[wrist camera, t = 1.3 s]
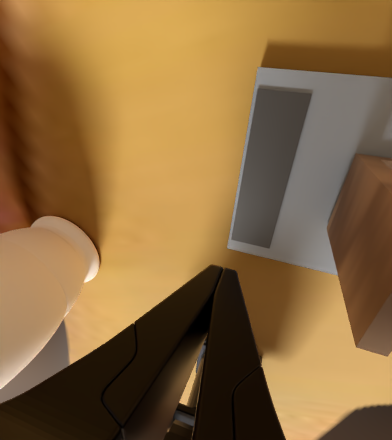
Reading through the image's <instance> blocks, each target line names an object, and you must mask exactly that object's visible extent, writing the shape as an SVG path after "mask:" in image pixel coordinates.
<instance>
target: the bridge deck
mask: <svg viewBox="0 0 392 440" xmlns="http://www.w3.org/2000/svg"><path fill="white" fill-rule="evenodd" d="M356 153H357V154H364V155H371V156H378V157H385V158H392V78H387V77H375V76H362V75H350V74H338V73H325V72H313V71H301V70H288V69H276V68H264V67H258V70H257V76H256V82H255V87H254V93H253V99H252V105H251V111H250V117H249V123H248V129H247V135H246V140H245V146H244V152H243V158H242V164H241V170H240V176H239V182H238V187H237V193H236V199H235V205H234V211H233V217H232V223H231V229H230V235H229V240H228V246H227V248H228V249H232V250H236V251H240V252H244V253H248V254H252V255H256V256H260V257H264V258H268V259H273V260H277V261H281V262H285V263H289V264H293V265H297V266H301V267H305V268H309V269H313V270H317V271H322V272H326V273H330V274H334V275H338V273H337V269H336V265H335V261H334V257H333V253H332V249H331V245H330V241H329V237H328V233H327V229H326V228H327V225H328V223H329V220H330V218H331V215H332V213H333V210H334V207H335V205H336V202H337V200H338V197H339V195H340V192H341V190H342V187H343V185H344V182H345V180H346V177H347V175H348V172H349V169H350V167H351V164H352V162H353V159H354V157H355V154H356Z"/></svg>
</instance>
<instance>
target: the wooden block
mask: <svg viewBox="0 0 392 440" xmlns="http://www.w3.org/2000/svg"><path fill="white" fill-rule="evenodd" d="M326 229H327V233H328V237H329V241H330V245H331V249H332V253H333V257H334V261H335V265H336V269H337V273H338V277H339V281H340V285H341V289H342V293H343V297H344V301H345V305H346V309H347V313H348V317H349V321H350V325H351V329H352V333H353V337H354V341H355V345H356V347H357V348H360V349H364V350H367V351H370V352H374V353H377V354H381V355H384V356H388V355H389V354H390V352H391V351H392V158H385V157H378V156H371V155H364V154H357V153H356V154H355V157H354V159H353V162H352V164H351V167H350V169H349V172H348V175H347V177H346V180H345V182H344V185H343V187H342V190H341V192H340V195H339V197H338V200H337V202H336V205H335V207H334V210H333V213H332V215H331V218H330V220H329V223H328V225H327V228H326Z"/></svg>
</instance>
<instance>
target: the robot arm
mask: <svg viewBox="0 0 392 440" xmlns="http://www.w3.org/2000/svg"><path fill="white" fill-rule="evenodd" d="M134 324H135V325H134ZM134 324H133V323H132V324H131V325H130V326H128V327H127V328H126V329H124V330H123V331H122V332H120V333H119V334H117V335H116V336H115V337H113V338H112V339H110V340H109V341H107V342H106V343H105V344H103V345H101V346H100V347H98V348H97V349H95V350H94V351H92V352H91V353H89V354H87V355H86V356H84V357H83V358H81V359H79V360H78V361H76V362H74V363H73V364H71V365H69V366H68V367H66V368H64V369H63V370H61V371H59V372H58V373H56V374H55V375H53V376H51V377H50V378H48V379H47V380H45V381H43V382H41V383H40V384H38V385H36V386H35V387H33V388H31V389H30V390H28V391H26V392H24V393H22V394H20V395H19V396H16V397H15V398H12V399H10V400H7V401H5V402H3V403H0V440H286V438H285V436H284V433H283V430H282V428H281V425H280V422H279V419H278V417H277V414H276V411H275V408H274V405H273V402H272V399H271V395H270V392H269V389H268V385H267V382H266V378H265V375H264V371H263V368H262V367H261V366H262V364H261V363H262V358H261V357H260V356H259V353H258V349H257V345H256V342H255V338H254V334H253V331H252V327H251V323H250V319H249V316H248V312H247V308H246V305H245V301H244V297H243V293H242V290H241V286H240V282H239V279H238V275H237V272H236V271H235V270H232V269H228V268H224V269H223V268H222V267H220V266H216V265H210V266H208V267H207V268H206V269H204V270H203V271H202V272H200V273H199V274H198V275H196V276H195V277H194V278H192V279H191V280H190V281H188V282H187V283H186V284H184V285H183V286H182V287H180V288H179V289H178V290H176V291H175V292H174V293H172V294H171V295H170V296H168V297H167V298H166V299H164V300H163V301H162V302H160V303H159V304H158V305H156V306H155V307H154V308H152V309H151V310H150V311H148V312H147V313H146V314H144V315H143V316H142V317H140V318H139V319H138V320H136V321H135V323H134ZM207 333H208V334H207ZM206 336H207V338H206ZM197 358H198V359H197ZM196 361H197V367H196V373H197V374H196V377H195V380H194V384H193V387H192V390H191V393H190V396H189V400H188V403H187V406H186V405H184V404H181V403H179V401H180V399H181V396H182V394H183V391H184V389H185V387H186V384H187V382H188V380H189V377H190V375H191V372H192V370H193V368H194V365H195V363H196Z"/></svg>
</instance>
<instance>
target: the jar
mask: <svg viewBox="0 0 392 440" xmlns="http://www.w3.org/2000/svg"><path fill="white" fill-rule="evenodd" d="M98 270H99V256H98V253H97V250H96V248H95V246H94V244H93V243H92V241H91V240H90V238H89V237H88V236H87V235H86V234H85V233H84V232H83V231H82V230H81V229H80V228H79V227H77V226H76V225H75V224H73V223H71V222H70V221H68V220H66V219H63V218H60V217H56V216H45V217H41V218H39V219H37V220H36V221H35V222H34V223H33V224H32V226H31V228H23V229H17V230H13V231H9V232H6V233H2V234H0V389H1V388H2V387H3V386H5V385H6V384H7V383H8V382H9V381H11V380H12V379H13V378H14V377H15V376H16V375H17V374H18V373H19V372H20V371H21V370H22V369H23V368H25V367H26V366H27V365H28V363H29V362H31V360H32V359H33V358H34V357H35V356H36V355H37V354H38V353H39V352H40V350H41V349H42V348H43V347H44V346H45V345H46V343H47V342H48V341H49V340H50V338H51V337H52V336H53V334H54V333H55V331H56V330H57V328H58V327H59V325H60V323H61V322H62V320H63V318H64V317H65V316H66V315H67V314H68V312H69V311H70V310H71V308H72V307H73V305H74V304H75V302H76V300H77V299H78V297H79V295H80V293H81V290H82V288H83V285H84V283H85V282H88V281H90V280H91V279H93V278H94V277H95V276H96V274H97V273H98Z"/></svg>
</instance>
